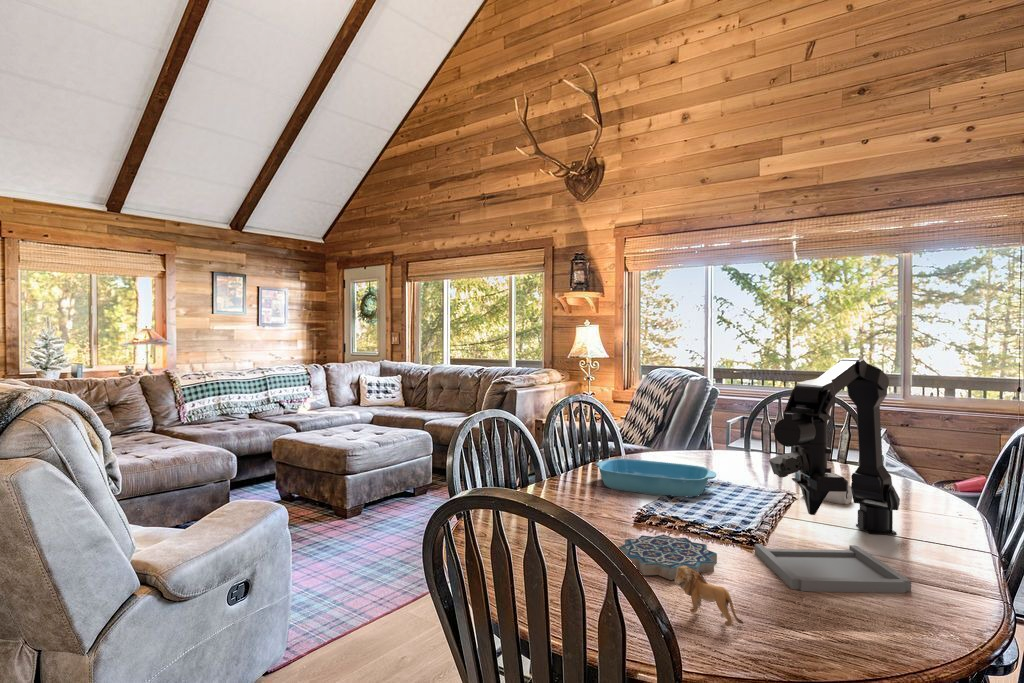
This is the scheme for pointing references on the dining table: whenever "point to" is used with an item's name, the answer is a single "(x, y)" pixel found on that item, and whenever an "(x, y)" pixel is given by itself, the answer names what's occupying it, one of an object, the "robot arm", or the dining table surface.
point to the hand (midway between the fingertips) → (811, 514)
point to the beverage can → (839, 497)
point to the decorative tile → (668, 555)
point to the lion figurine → (704, 592)
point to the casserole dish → (654, 477)
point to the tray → (833, 570)
